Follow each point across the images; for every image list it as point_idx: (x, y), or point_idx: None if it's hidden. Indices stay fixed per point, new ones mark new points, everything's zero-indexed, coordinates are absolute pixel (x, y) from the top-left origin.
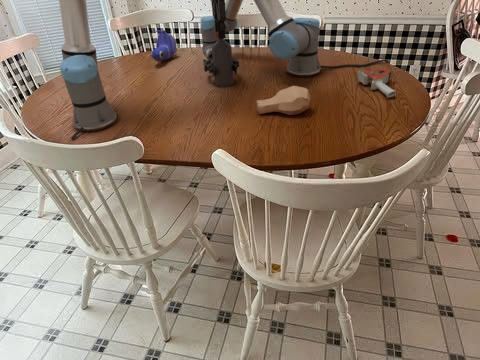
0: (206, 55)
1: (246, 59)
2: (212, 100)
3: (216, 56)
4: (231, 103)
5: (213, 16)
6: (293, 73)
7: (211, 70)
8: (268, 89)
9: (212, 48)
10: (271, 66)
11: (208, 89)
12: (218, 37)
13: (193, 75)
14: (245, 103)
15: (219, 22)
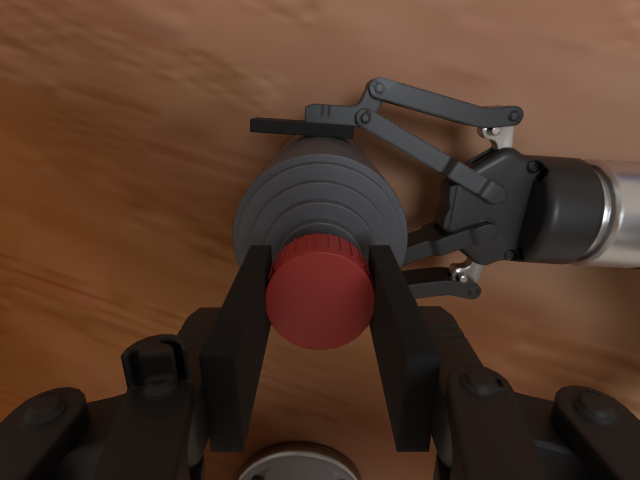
0: (620, 162)
1: (577, 367)
2: (116, 52)
3: (268, 165)
4: (56, 134)
5: (559, 393)
6: (267, 455)
7: (305, 113)
8: (169, 325)
9: (308, 155)
10: None
11: (272, 72)
12: (283, 249)
13: (532, 42)
14: (43, 193)
15: (204, 375)
